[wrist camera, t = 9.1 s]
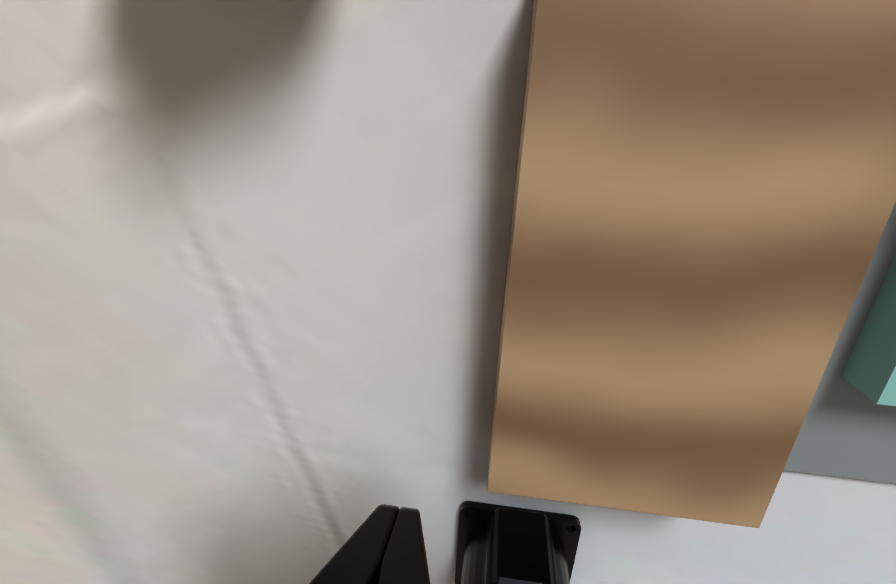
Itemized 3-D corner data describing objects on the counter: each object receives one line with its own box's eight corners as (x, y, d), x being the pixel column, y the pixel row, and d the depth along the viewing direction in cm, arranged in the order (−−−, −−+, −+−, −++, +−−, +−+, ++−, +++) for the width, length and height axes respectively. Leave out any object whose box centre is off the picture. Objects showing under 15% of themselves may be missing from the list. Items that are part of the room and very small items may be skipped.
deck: (716, 458, 22) (758, 528, 18) (490, 430, 23) (487, 491, 19) (883, -33, 14) (1016, -88, 10) (537, -38, 15) (546, -88, 12)
